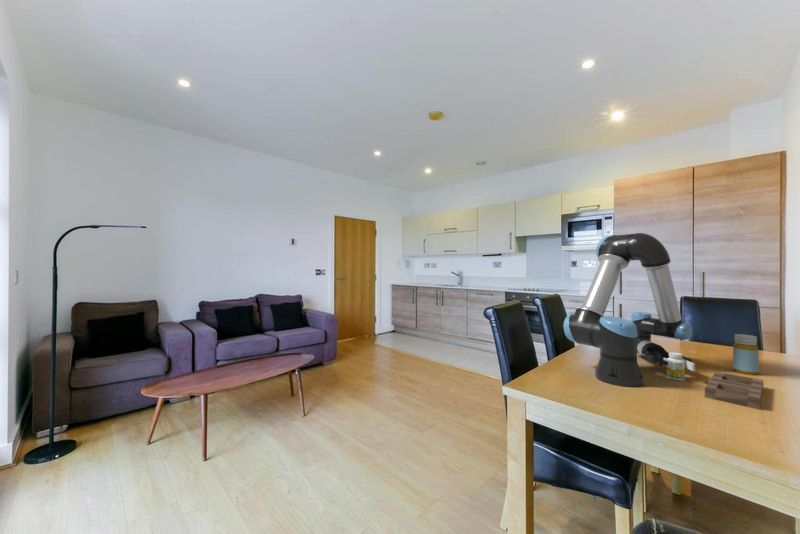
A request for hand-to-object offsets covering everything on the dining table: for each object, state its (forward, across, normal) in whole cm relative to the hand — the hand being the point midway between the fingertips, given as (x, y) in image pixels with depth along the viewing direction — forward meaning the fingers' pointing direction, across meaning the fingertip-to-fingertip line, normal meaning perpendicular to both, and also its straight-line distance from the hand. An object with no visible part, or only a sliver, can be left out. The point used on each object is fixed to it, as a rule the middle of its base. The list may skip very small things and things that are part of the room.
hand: (683, 366), depth 117 cm
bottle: (-21, -32, -6) cm, 39 cm away
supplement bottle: (-5, 0, -6) cm, 8 cm away
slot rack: (+6, -11, -6) cm, 14 cm away
